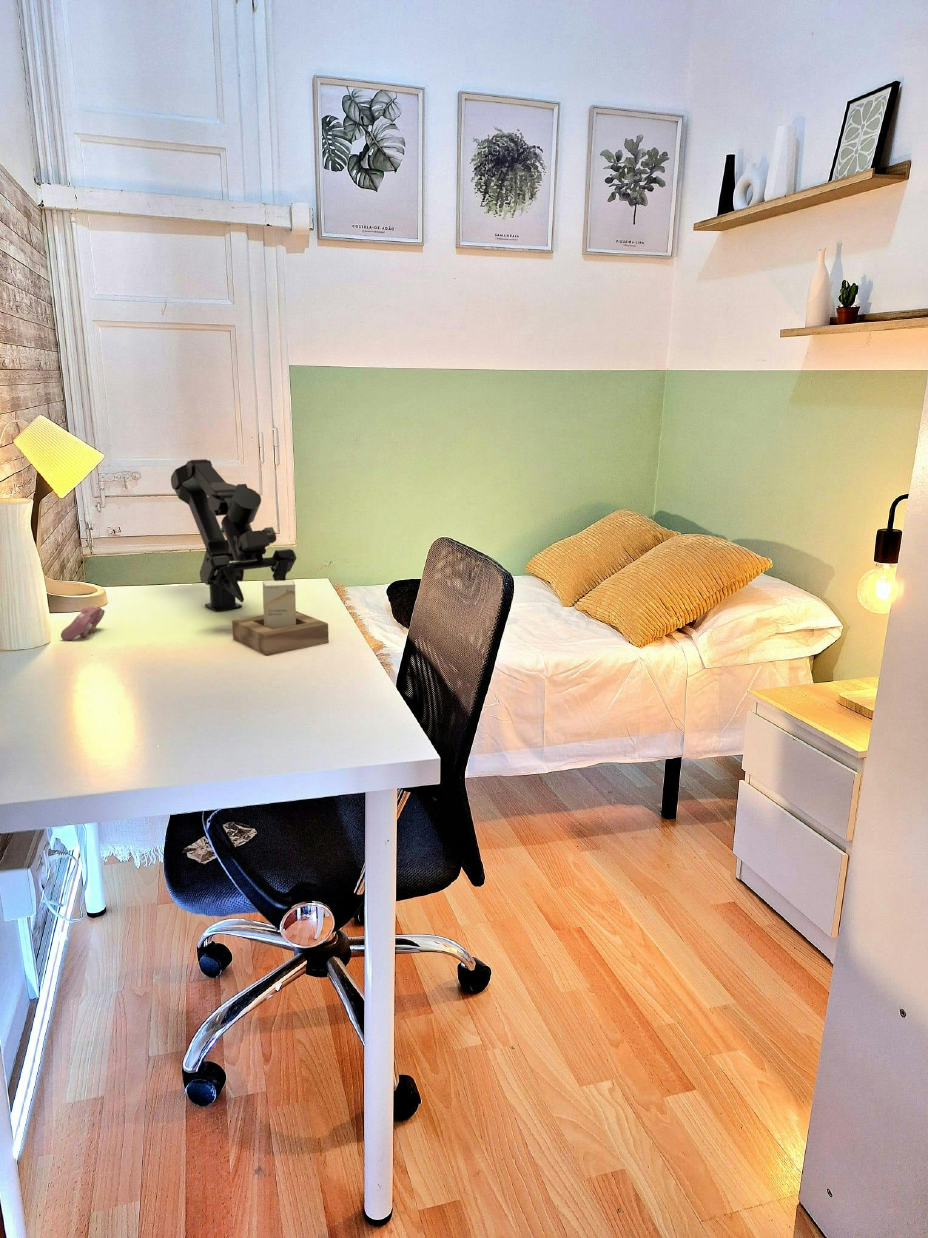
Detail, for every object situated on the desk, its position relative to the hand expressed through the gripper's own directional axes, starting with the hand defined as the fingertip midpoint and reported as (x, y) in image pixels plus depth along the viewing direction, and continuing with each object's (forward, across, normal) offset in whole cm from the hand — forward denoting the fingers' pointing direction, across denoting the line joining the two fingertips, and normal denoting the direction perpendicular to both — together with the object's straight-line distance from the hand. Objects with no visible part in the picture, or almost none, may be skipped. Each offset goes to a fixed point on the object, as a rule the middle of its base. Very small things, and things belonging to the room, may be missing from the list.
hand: (263, 598), depth 175 cm
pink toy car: (-7, -32, +18) cm, 37 cm away
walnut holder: (+11, 0, 0) cm, 11 cm away
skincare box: (+11, 0, 0) cm, 11 cm away
